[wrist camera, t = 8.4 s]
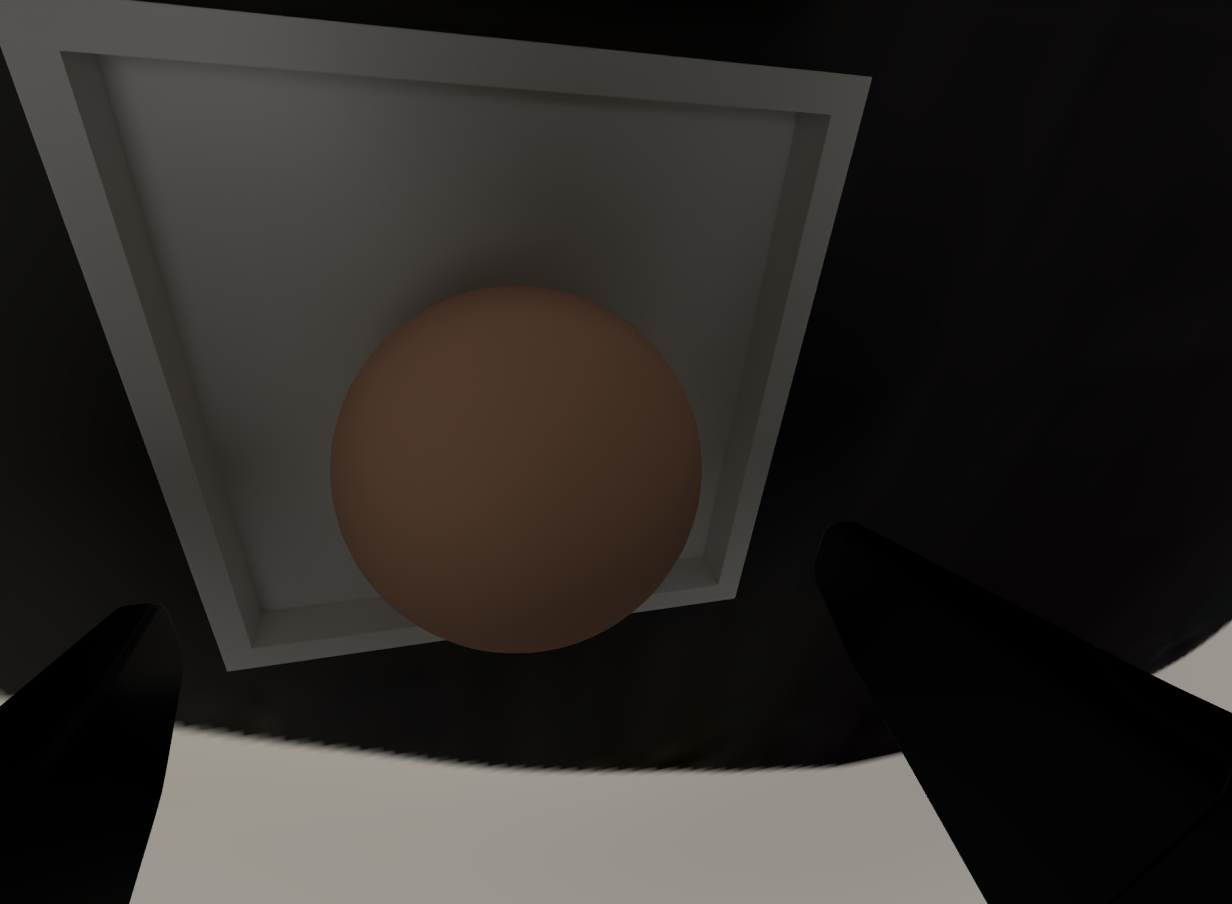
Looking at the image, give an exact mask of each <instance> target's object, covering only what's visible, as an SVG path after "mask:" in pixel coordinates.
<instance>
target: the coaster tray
mask: <svg viewBox="0 0 1232 904" xmlns="http://www.w3.org/2000/svg"><path fill="white" fill-rule="evenodd" d="M0 46H1V49H2V52H3V54H4V57H5V60H6V63H7V65H8V68H9V71H10V74H11V76H12V79H13V82H14V85H15V87H16V90H17V93H18V96H19V99H20V101H21V104H22V107H23V110H24V112H25V115H26V118H27V121H28V123H29V126H30V129H31V132H32V134H33V137H34V140H35V143H36V145H37V148H38V151H39V154H40V156H41V159H42V162H43V165H44V167H45V170H46V173H47V176H48V178H49V181H50V184H51V187H52V189H53V192H54V195H55V198H56V200H57V203H58V206H59V209H60V212H61V214H62V217H63V220H64V223H65V225H66V228H67V231H68V234H69V236H70V239H71V242H72V245H73V247H74V250H75V253H76V256H77V258H78V261H79V264H80V267H81V269H82V272H83V275H84V278H85V280H86V283H87V286H88V289H89V291H90V294H91V297H92V300H93V302H94V305H95V308H96V311H97V313H98V316H99V319H100V322H101V325H102V327H103V330H104V333H105V336H106V338H107V341H108V344H109V347H110V349H111V352H112V355H113V358H114V360H115V363H116V366H117V369H118V371H119V374H120V377H121V380H122V382H123V385H124V388H125V391H126V393H127V396H128V399H129V402H130V404H131V407H132V410H133V413H134V415H135V418H136V421H137V424H138V426H139V429H140V432H141V435H142V438H143V440H144V443H145V446H146V449H147V451H148V454H149V457H150V460H151V462H152V465H153V468H154V471H155V473H156V476H157V479H158V482H159V484H160V487H161V490H162V493H163V495H164V498H165V501H166V504H167V506H168V509H169V512H170V515H171V517H172V520H173V523H174V526H175V528H176V531H177V534H178V537H179V539H180V542H181V545H182V548H183V551H184V553H185V556H186V559H187V562H188V564H189V567H190V570H191V573H192V575H193V578H194V581H195V584H196V586H197V589H198V592H199V595H200V597H201V600H202V603H203V606H204V608H205V611H206V614H207V617H208V619H209V622H210V625H211V628H212V630H213V633H214V636H215V639H216V641H217V644H218V647H219V650H220V653H221V655H222V658H223V661H224V664H225V666H226V669H227V672H228V671H235V670H242V669H248V668H255V667H262V666H269V665H276V664H283V663H290V662H297V661H304V660H311V659H318V658H325V657H332V656H338V655H345V654H352V653H359V652H366V651H373V650H380V649H387V648H394V647H401V646H408V645H415V644H422V643H429V642H435V641H442V640H445V639H443V638H440V637H438V636H435V635H433V634H431V633H429V632H427V631H426V630H424V629H422V628H420V627H419V626H417V625H415V624H414V623H413V622H411V621H410V620H408V619H407V618H406V617H404V616H403V615H402V614H400V613H399V612H398V611H396V610H395V609H394V608H392V607H391V606H390V605H389V604H388V603H387V602H386V601H385V600H384V599H383V598H382V597H381V596H380V595H379V594H378V592H377V591H376V590H375V589H374V588H373V587H372V586H371V584H370V583H369V582H368V581H367V579H366V578H365V576H364V575H363V574H362V572H361V571H360V569H359V568H358V567H357V565H356V563H355V561H354V559H353V557H352V555H351V553H350V551H349V549H348V547H347V545H346V543H345V541H344V539H343V536H342V534H341V531H340V527H339V524H338V520H337V517H336V513H335V509H334V505H333V500H332V492H331V482H330V461H331V448H332V440H333V436H334V432H335V428H336V424H337V420H338V416H339V413H340V409H341V406H342V404H343V402H344V399H345V397H346V395H347V392H348V390H349V388H350V386H351V384H352V383H353V381H354V379H355V378H356V376H357V375H358V373H359V372H360V370H361V368H362V367H363V365H364V364H365V362H366V361H367V359H368V358H369V357H370V356H371V354H372V353H373V352H374V351H375V350H376V349H377V348H378V346H379V345H380V344H381V343H382V342H383V341H384V340H385V339H386V338H387V337H388V336H389V335H390V334H392V333H393V332H394V331H395V330H396V329H397V328H398V327H400V326H401V325H402V324H403V323H405V322H406V321H408V320H409V319H411V318H412V317H414V316H415V315H417V314H419V313H420V312H422V311H423V310H425V309H427V308H429V307H431V306H433V305H436V304H438V303H440V302H442V301H444V300H446V299H448V298H451V297H454V296H457V295H460V294H463V293H466V292H470V291H475V290H480V289H485V288H490V287H502V286H531V287H544V288H549V289H554V290H559V291H565V292H568V293H571V294H574V295H577V296H580V297H583V298H586V299H588V300H590V301H592V302H594V303H596V304H598V305H600V306H602V307H604V308H606V309H608V310H610V311H612V312H614V313H615V314H617V315H618V316H620V317H621V318H622V319H624V320H625V321H627V322H628V323H630V324H631V325H633V326H634V327H635V328H636V329H637V330H638V331H639V332H640V333H641V334H642V335H643V336H644V337H645V338H646V339H647V340H649V341H650V342H651V343H652V344H653V345H654V346H655V347H656V348H657V350H658V351H659V352H660V353H661V355H662V356H663V357H664V359H665V360H666V361H667V362H668V364H669V365H670V367H671V368H672V370H673V372H674V373H675V375H676V376H677V378H678V380H679V382H680V384H681V386H682V387H683V389H684V391H685V393H686V395H687V398H688V401H689V404H690V407H691V409H692V412H693V415H694V418H695V421H696V424H697V429H698V435H699V440H700V448H701V457H702V479H701V488H700V496H699V504H698V509H697V512H696V516H695V520H694V523H693V526H692V529H691V532H690V534H689V537H688V539H687V542H686V544H685V546H684V549H683V551H682V553H681V554H680V556H679V558H678V560H677V561H676V563H675V565H674V566H673V568H672V569H671V571H670V572H669V574H668V575H667V577H666V578H665V579H664V581H663V582H662V583H661V585H660V586H659V587H658V588H657V589H656V591H655V592H654V593H653V594H652V595H651V596H650V597H649V598H648V599H647V600H646V601H645V602H644V603H643V604H641V605H640V606H639V607H638V608H637V609H636V610H635V611H633V612H632V613H636V612H643V611H650V610H657V609H664V608H671V607H678V606H685V605H692V604H699V603H705V602H712V601H719V600H726V599H733V598H735V596H736V592H737V588H738V584H739V581H740V577H741V573H742V569H743V565H744V562H745V558H746V554H747V550H748V547H749V543H750V539H751V535H752V531H753V528H754V524H755V520H756V516H757V512H758V509H759V505H760V501H761V497H762V493H763V490H764V486H765V482H766V478H767V474H768V471H769V467H770V463H771V459H772V455H773V452H774V448H775V444H776V440H777V436H778V433H779V429H780V425H781V421H782V417H783V414H784V410H785V406H786V402H787V398H788V395H789V391H790V387H791V383H792V380H793V376H794V372H795V368H796V364H797V361H798V357H799V353H800V349H801V345H802V342H803V338H804V334H805V330H806V326H807V323H808V319H809V315H810V311H811V307H812V304H813V300H814V296H815V292H816V288H817V285H818V281H819V277H820V273H821V269H822V266H823V262H824V258H825V254H826V250H827V247H828V243H829V239H830V235H831V232H832V228H833V224H834V220H835V216H836V213H837V209H838V205H839V201H840V197H841V194H842V190H843V186H844V182H845V178H846V175H847V171H848V167H849V163H850V159H851V156H852V152H853V148H854V144H855V140H856V137H857V133H858V129H859V125H860V121H861V118H862V114H863V110H864V106H865V102H866V99H867V95H868V91H869V87H870V83H871V80H872V77H866V76H858V75H849V74H840V73H832V72H823V71H813V70H804V69H794V68H784V67H775V66H765V65H756V64H746V63H736V62H727V61H717V60H707V59H698V58H688V57H678V56H669V55H659V54H650V53H640V52H630V51H621V50H611V49H601V48H592V47H582V46H572V45H563V44H553V43H543V42H534V41H524V40H515V39H505V38H495V37H486V36H476V35H466V34H457V33H447V32H437V31H428V30H418V29H409V28H399V27H389V26H380V25H370V24H360V23H351V22H341V21H331V20H322V19H312V18H303V17H293V16H283V15H274V14H264V13H254V12H245V11H235V10H225V9H216V8H206V7H197V6H187V5H177V4H168V3H158V2H148V1H139V0H0Z"/></svg>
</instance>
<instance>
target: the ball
mask: <svg viewBox="0 0 1232 904" xmlns="http://www.w3.org/2000/svg"><path fill="white" fill-rule="evenodd" d="M701 479H702V457H701V448H700V440H699V435H698V429H697V424H696V421H695V418H694V415H693V412H692V409H691V407H690V404H689V401H688V398H687V395H686V393H685V391H684V389H683V387H682V386H681V384H680V382H679V380H678V378H677V376H676V375H675V373H674V372H673V370H672V368H671V367H670V365H669V364H668V362H667V361H666V360H665V359H664V357H663V356H662V355H661V353H660V352H659V351H658V350H657V348H656V347H655V346H654V345H653V344H652V343H651V342H650V341H649V340H647V339H646V338H645V337H644V336H643V335H642V334H641V333H640V332H639V331H638V330H637V329H636V328H635V327H634V326H633V325H631V324H630V323H628V322H627V321H625V320H624V319H622V318H621V317H620V316H618V315H617V314H615V313H614V312H612V311H610V310H608V309H606V308H604V307H602V306H600V305H598V304H596V303H594V302H592V301H590V300H588V299H586V298H583V297H580V296H577V295H574V294H571V293H568V292H565V291H559V290H554V289H549V288H544V287H531V286H502V287H490V288H485V289H480V290H475V291H470V292H466V293H463V294H460V295H457V296H454V297H451V298H448V299H446V300H444V301H442V302H440V303H438V304H436V305H433V306H431V307H429V308H427V309H425V310H423V311H422V312H420V313H419V314H417V315H415V316H414V317H412V318H411V319H409V320H408V321H406V322H405V323H403V324H402V325H401V326H400V327H398V328H397V329H396V330H395V331H394V332H393V333H392V334H390V335H389V336H388V337H387V338H386V339H385V340H384V341H383V342H382V343H381V344H380V345H379V346H378V348H377V349H376V350H375V351H374V352H373V353H372V354H371V356H370V357H369V358H368V359H367V361H366V362H365V364H364V365H363V367H362V368H361V370H360V372H359V373H358V375H357V376H356V378H355V379H354V381H353V383H352V384H351V386H350V388H349V390H348V392H347V395H346V397H345V399H344V402H343V404H342V406H341V409H340V413H339V416H338V420H337V424H336V428H335V432H334V436H333V440H332V448H331V461H330V482H331V492H332V500H333V505H334V509H335V513H336V517H337V520H338V524H339V527H340V531H341V534H342V536H343V539H344V541H345V543H346V545H347V547H348V549H349V551H350V553H351V555H352V557H353V559H354V561H355V563H356V565H357V567H358V568H359V569H360V571H361V572H362V574H363V575H364V576H365V578H366V579H367V581H368V582H369V583H370V584H371V586H372V587H373V588H374V589H375V590H376V591H377V592H378V594H379V595H380V596H381V597H382V598H383V599H384V600H385V601H386V602H387V603H388V604H389V605H390V606H391V607H392V608H394V609H395V610H396V611H398V612H399V613H400V614H402V615H403V616H404V617H406V618H407V619H408V620H410V621H411V622H413V623H414V624H415V625H417V626H419V627H420V628H422V629H424V630H426V631H427V632H429V633H431V634H433V635H435V636H438V637H440V638H443V639H445V640H448V641H450V642H453V643H456V644H458V645H462V646H465V647H469V648H472V649H476V650H483V651H489V652H499V653H533V652H541V651H548V650H553V649H558V648H562V647H566V646H569V645H572V644H576V643H579V642H581V641H584V640H586V639H589V638H591V637H593V636H595V635H597V634H599V633H601V632H603V631H605V630H607V629H609V628H610V627H612V626H614V625H615V624H617V623H618V622H620V621H621V620H622V619H624V618H625V617H626V616H628V615H629V614H631V613H632V612H633V611H635V610H636V609H637V608H638V607H639V606H640V605H641V604H643V603H644V602H645V601H646V600H647V599H648V598H649V597H650V596H651V595H652V594H653V593H654V592H655V591H656V589H657V588H658V587H659V586H660V585H661V583H662V582H663V581H664V579H665V578H666V577H667V575H668V574H669V572H670V571H671V569H672V568H673V566H674V565H675V563H676V561H677V560H678V558H679V556H680V554H681V553H682V551H683V549H684V546H685V544H686V542H687V539H688V537H689V534H690V532H691V529H692V526H693V523H694V520H695V516H696V512H697V509H698V504H699V496H700V488H701Z"/></svg>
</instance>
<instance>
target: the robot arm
mask: <svg viewBox="0 0 1232 904" xmlns="http://www.w3.org/2000/svg"><path fill="white" fill-rule="evenodd" d="M813 572H814V577H815V580H816V582H817V584H818V586H819V589H820V591H821V593H822V596H823V598H824V600H825V602H826V605H827V607H828V609H829V612H830V614H831V616H832V618H833V621H834V623H835V625H836V628H837V630H838V632H839V634H840V637H841V639H842V641H843V644H844V646H845V648H846V650H847V652H848V655H849V657H850V659H851V661H852V663H853V665H854V667H855V669H856V671H857V672H858V674H859V676H860V678H861V680H862V682H863V683H864V685H865V687H866V689H867V691H868V692H869V694H870V696H871V698H872V699H873V701H874V703H875V705H876V706H877V708H878V710H879V712H880V714H881V715H882V717H883V719H884V721H885V722H886V724H887V726H888V728H889V730H890V731H891V733H892V735H893V737H894V738H895V740H896V742H897V744H898V746H899V747H900V749H901V751H902V753H903V754H904V756H905V758H906V760H907V762H908V763H909V765H910V767H911V769H912V770H913V772H914V774H915V776H916V777H917V779H918V781H919V783H920V785H921V786H922V788H923V790H924V792H925V794H926V795H927V797H928V799H929V801H930V802H931V804H932V806H933V808H934V810H935V811H936V813H937V815H938V817H939V818H940V820H941V822H942V824H943V826H944V827H945V829H946V831H947V832H948V834H949V836H950V838H951V840H952V842H953V843H954V845H955V847H956V849H957V850H958V852H959V854H960V856H961V857H962V859H963V861H964V863H965V865H966V866H967V868H968V870H969V872H970V873H971V875H972V877H973V879H974V881H975V882H976V884H977V886H978V888H979V890H980V891H981V893H982V894H983V897H984V898H985V900H986V902H987V904H1232V713H1231V712H1228V711H1226V710H1224V709H1222V708H1220V707H1218V706H1216V705H1214V704H1211V703H1209V702H1207V701H1205V700H1203V699H1201V698H1198V697H1197V696H1194V695H1192V694H1190V693H1188V692H1186V691H1184V690H1182V689H1179V688H1177V687H1175V686H1173V685H1171V684H1169V683H1167V682H1165V681H1163V680H1161V679H1159V678H1157V677H1155V676H1153V675H1151V674H1149V673H1147V672H1145V671H1143V670H1141V669H1139V668H1137V667H1135V666H1133V665H1131V664H1129V663H1127V662H1125V661H1123V660H1121V659H1119V658H1118V657H1116V656H1114V655H1112V654H1110V653H1108V652H1106V651H1104V650H1102V649H1100V648H1094V646H1093V645H1092V644H1090V643H1088V642H1086V641H1084V640H1083V639H1081V638H1079V637H1077V636H1075V635H1073V634H1071V633H1069V632H1067V631H1065V630H1063V629H1061V628H1059V627H1057V626H1055V625H1053V624H1052V623H1050V622H1048V621H1046V620H1044V619H1042V618H1040V617H1038V616H1036V615H1034V614H1032V613H1030V612H1028V611H1026V610H1024V609H1022V608H1021V607H1019V606H1017V605H1015V604H1013V603H1011V602H1009V601H1007V600H1005V599H1003V598H1001V597H999V596H997V595H995V594H993V593H991V592H990V591H988V590H986V589H984V588H982V587H980V586H978V585H976V584H974V583H972V582H970V581H968V580H966V579H964V578H962V577H960V576H959V575H957V574H955V573H953V572H951V571H949V570H947V569H945V568H943V567H941V566H939V565H937V564H935V563H933V562H931V561H929V560H928V559H926V558H924V557H922V556H920V555H918V554H916V553H914V552H912V551H910V550H908V549H906V548H904V547H902V546H900V545H899V544H897V543H895V542H893V541H891V540H889V539H887V538H885V537H883V536H881V535H879V534H877V533H875V532H873V531H871V530H869V529H868V528H866V527H864V526H862V525H860V524H858V523H856V522H841V523H833V524H830V525H828V526H827V528H826V529H825V531H824V533H823V536H822V539H821V542H820V545H819V548H818V551H817V554H816V557H815V560H814V563H813ZM183 669H184V652H183V648H182V645H181V643H180V640H179V638H178V635H177V633H176V630H175V628H174V626H173V623H172V621H171V618H170V616H169V613H168V611H167V609H166V608H165V607H164V606H163V605H162V604H160V603H145V604H137V605H128V606H124V607H120V608H118V609H117V610H115V611H114V612H112V613H111V614H110V615H109V616H108V617H106V618H105V619H104V620H103V621H102V622H101V623H99V624H98V625H97V626H96V627H95V628H93V629H92V630H91V631H90V632H89V633H87V634H86V635H85V636H84V637H83V638H81V639H80V640H79V641H78V642H77V643H75V644H74V645H73V646H72V647H71V648H69V649H68V650H67V651H66V652H65V653H63V654H62V655H61V656H60V657H59V658H57V659H56V660H55V661H54V662H53V663H51V664H50V665H49V666H48V667H47V668H45V669H44V670H43V671H42V672H41V673H39V674H38V675H37V676H36V677H35V678H33V679H32V680H31V681H30V682H29V683H27V684H26V685H25V686H24V687H23V688H21V689H20V690H19V691H18V692H17V693H15V694H14V695H13V696H12V697H11V698H9V699H8V700H7V701H6V702H5V703H3V704H2V705H1V706H0V904H129V902H130V899H131V896H132V892H133V889H134V886H135V882H136V879H137V876H138V872H139V869H140V866H141V862H142V859H143V856H144V852H145V849H146V845H147V842H148V839H149V836H150V832H151V829H152V826H153V822H154V819H155V815H156V812H157V808H158V804H159V801H160V797H161V793H162V789H163V784H164V779H165V773H166V768H167V763H168V757H169V751H170V745H171V739H172V734H173V728H174V722H175V716H176V710H177V704H178V699H179V693H180V687H181V681H182V675H183Z"/></svg>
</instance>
